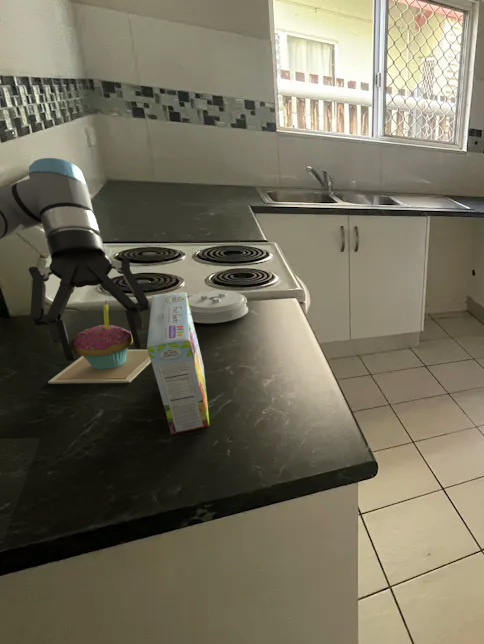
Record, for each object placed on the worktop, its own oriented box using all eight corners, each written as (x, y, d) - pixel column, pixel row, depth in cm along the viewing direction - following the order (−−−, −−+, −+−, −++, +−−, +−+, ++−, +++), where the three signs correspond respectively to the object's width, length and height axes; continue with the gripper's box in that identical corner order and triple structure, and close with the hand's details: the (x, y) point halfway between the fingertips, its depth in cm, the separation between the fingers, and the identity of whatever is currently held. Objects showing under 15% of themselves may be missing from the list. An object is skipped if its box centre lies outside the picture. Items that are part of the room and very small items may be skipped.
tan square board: (48, 383, 79) (47, 381, 79) (91, 351, 90) (90, 348, 90) (129, 382, 82) (129, 380, 82) (162, 351, 92) (161, 349, 92)
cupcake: (135, 349, 91) (120, 290, 86) (140, 368, 85) (124, 306, 80) (77, 359, 86) (57, 297, 81) (77, 380, 80) (56, 315, 75)
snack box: (168, 371, 86) (150, 294, 80) (204, 366, 89) (189, 290, 83) (168, 436, 70) (144, 346, 64) (212, 427, 73) (193, 339, 67)
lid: (180, 311, 110) (176, 291, 107) (241, 302, 117) (238, 283, 115) (191, 331, 101) (186, 309, 99) (255, 320, 109) (252, 300, 107)
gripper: (147, 244, 95) (177, 346, 91) (-3, 255, 82) (25, 374, 78) (145, 223, 90) (177, 331, 86) (-17, 231, 76) (12, 359, 72)
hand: (104, 351), depth 82 cm, fingers closed on cupcake, 8 cm apart
